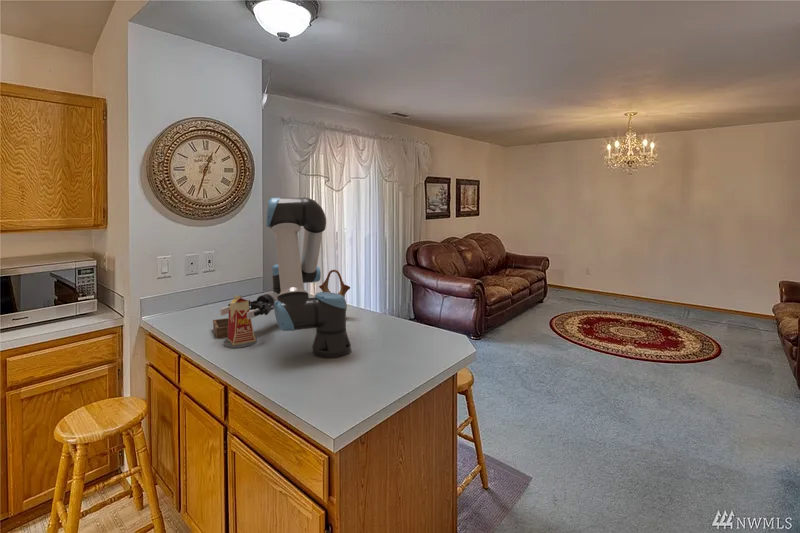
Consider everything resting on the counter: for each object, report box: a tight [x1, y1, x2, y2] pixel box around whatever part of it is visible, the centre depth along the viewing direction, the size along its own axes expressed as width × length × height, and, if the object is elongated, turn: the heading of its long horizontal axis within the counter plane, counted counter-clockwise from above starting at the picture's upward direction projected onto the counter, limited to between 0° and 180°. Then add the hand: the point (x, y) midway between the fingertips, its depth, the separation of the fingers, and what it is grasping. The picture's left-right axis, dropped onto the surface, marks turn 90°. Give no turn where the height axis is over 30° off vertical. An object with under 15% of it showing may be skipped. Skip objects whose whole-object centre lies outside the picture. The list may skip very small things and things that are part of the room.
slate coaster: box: [223, 336, 258, 349], centre depth 175 cm, size 13×13×1 cm
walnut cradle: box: [212, 317, 229, 339], centre depth 188 cm, size 14×14×4 cm
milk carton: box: [227, 294, 256, 345], centre depth 173 cm, size 9×9×20 cm
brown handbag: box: [318, 269, 351, 311], centre depth 207 cm, size 16×9×25 cm, turn 77°
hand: (234, 314), depth 170 cm, fingers open, 13 cm apart
